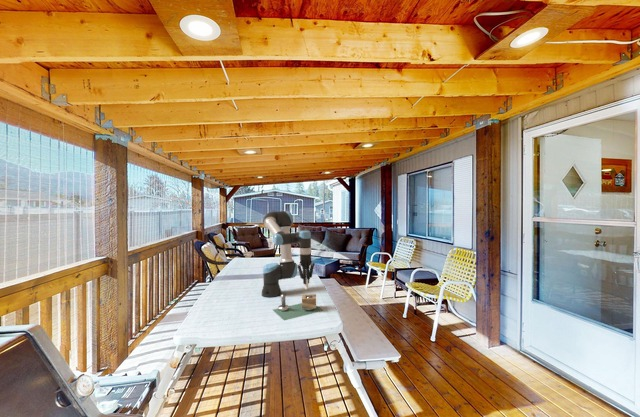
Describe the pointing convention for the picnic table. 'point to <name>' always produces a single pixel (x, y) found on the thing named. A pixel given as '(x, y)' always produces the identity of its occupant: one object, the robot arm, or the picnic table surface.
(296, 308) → the mat
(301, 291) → the picnic table surface
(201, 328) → the picnic table surface
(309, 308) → the hub
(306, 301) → the square wooden frame
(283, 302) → the stand
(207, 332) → the picnic table surface
